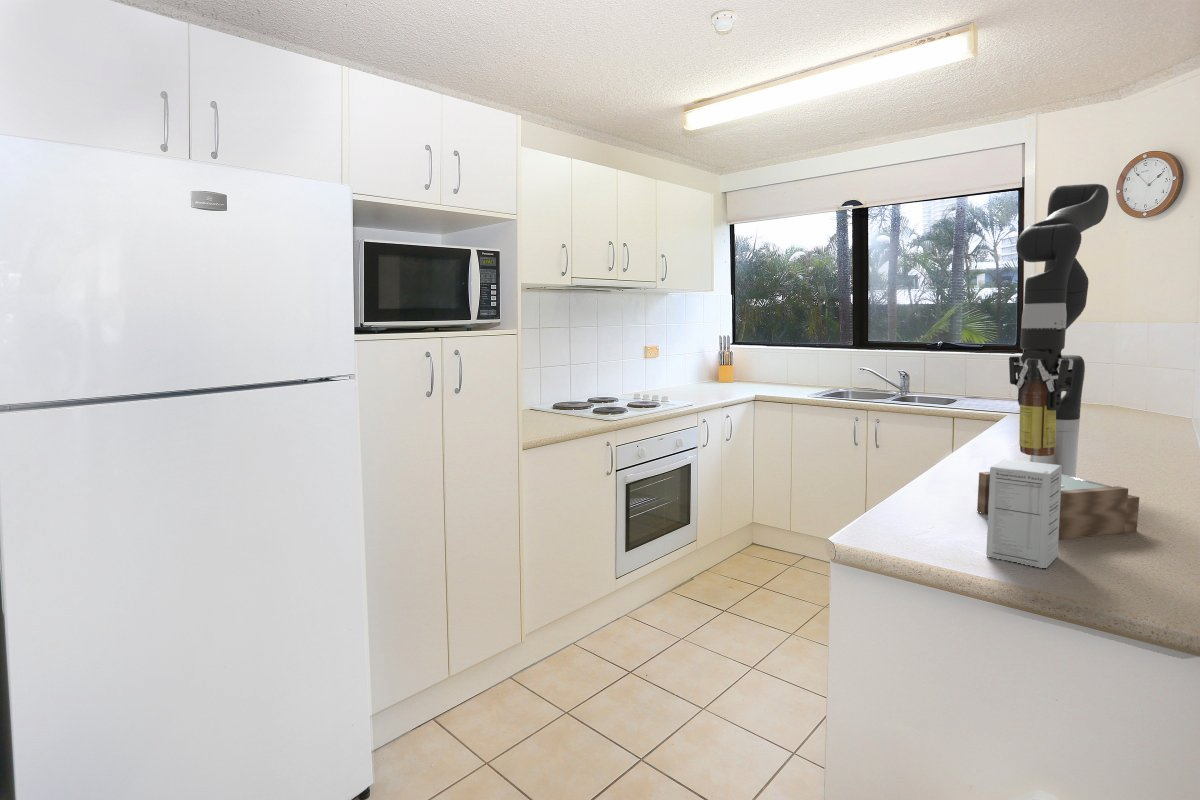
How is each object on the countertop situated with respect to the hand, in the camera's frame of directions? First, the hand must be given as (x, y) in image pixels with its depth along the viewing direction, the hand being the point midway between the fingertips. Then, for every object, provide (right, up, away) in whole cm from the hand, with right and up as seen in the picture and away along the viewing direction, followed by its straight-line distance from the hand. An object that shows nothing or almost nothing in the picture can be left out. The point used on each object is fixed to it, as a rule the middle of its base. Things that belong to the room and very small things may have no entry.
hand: (1038, 407), depth 135 cm
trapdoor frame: (+6, -24, +4) cm, 25 cm away
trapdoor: (+4, -17, +3) cm, 18 cm away
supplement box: (-14, -27, -16) cm, 35 cm away
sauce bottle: (0, -10, +1) cm, 10 cm away
